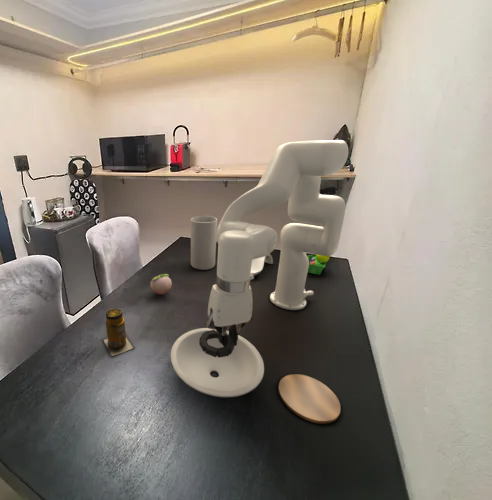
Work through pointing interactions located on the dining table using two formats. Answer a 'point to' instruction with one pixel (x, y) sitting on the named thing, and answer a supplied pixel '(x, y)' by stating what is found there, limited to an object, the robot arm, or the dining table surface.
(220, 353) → the ring
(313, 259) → the fruit basket
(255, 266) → the spoon rest
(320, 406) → the coaster
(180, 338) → the white sink bowl
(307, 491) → the dining table surface
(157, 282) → the decorative fruit
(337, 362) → the dining table surface
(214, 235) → the cylinder vase
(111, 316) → the condiment
